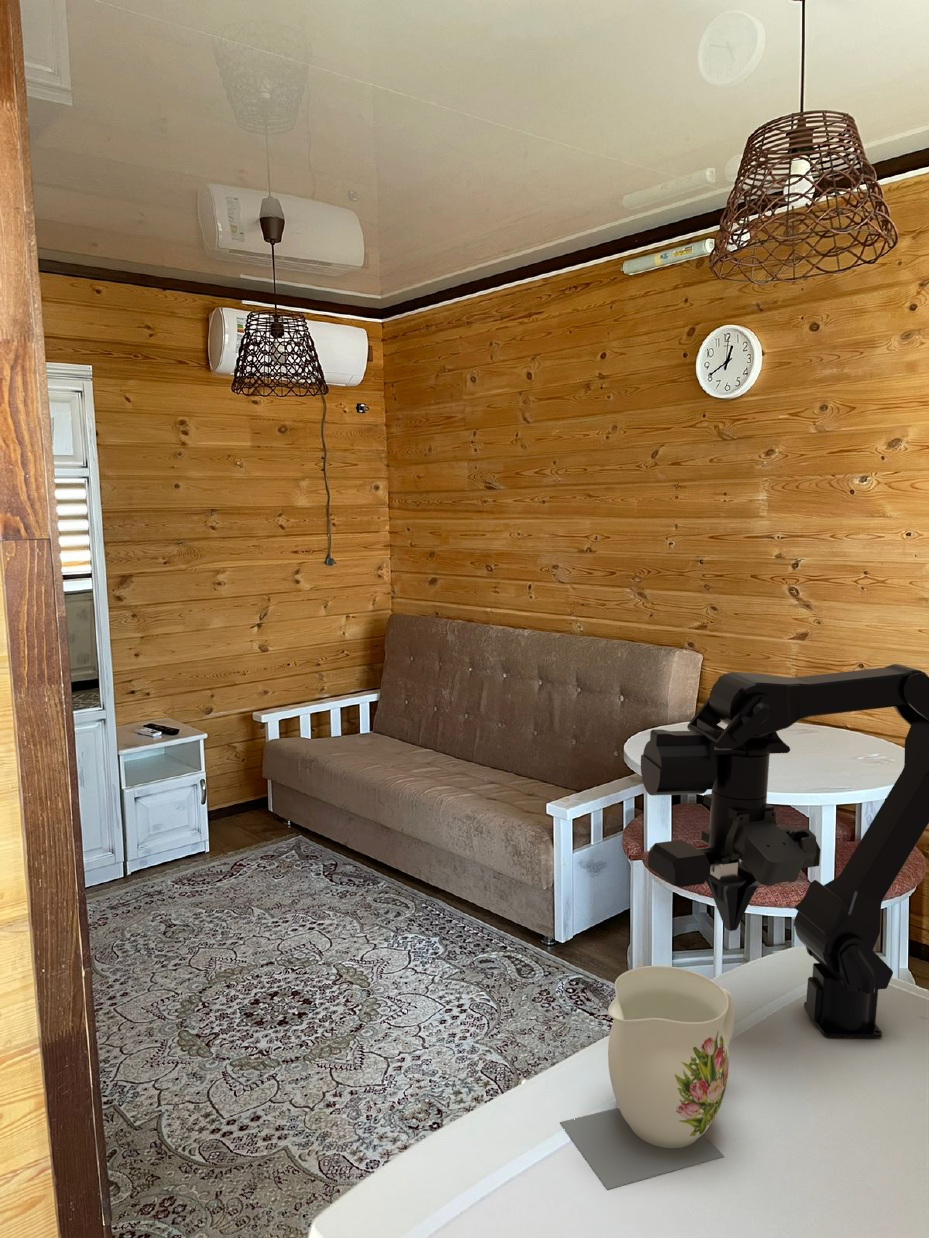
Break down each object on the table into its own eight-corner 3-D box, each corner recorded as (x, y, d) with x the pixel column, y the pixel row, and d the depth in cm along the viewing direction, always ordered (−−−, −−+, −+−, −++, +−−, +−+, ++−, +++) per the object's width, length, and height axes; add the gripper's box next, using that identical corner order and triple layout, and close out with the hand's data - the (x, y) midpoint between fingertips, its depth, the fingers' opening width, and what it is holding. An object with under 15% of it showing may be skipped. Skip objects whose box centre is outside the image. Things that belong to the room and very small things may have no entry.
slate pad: (667, 1104, 91) (668, 1094, 91) (723, 1166, 83) (724, 1155, 83) (559, 1131, 87) (559, 1121, 87) (606, 1199, 78) (607, 1189, 78)
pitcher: (775, 1111, 89) (784, 977, 87) (655, 1198, 77) (663, 1046, 76) (682, 1057, 97) (689, 934, 95) (562, 1127, 86) (567, 989, 84)
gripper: (711, 826, 88) (702, 979, 90) (863, 806, 94) (852, 950, 96) (648, 791, 98) (641, 929, 100) (789, 775, 105) (780, 905, 107)
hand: (730, 929), depth 101 cm, fingers closed
